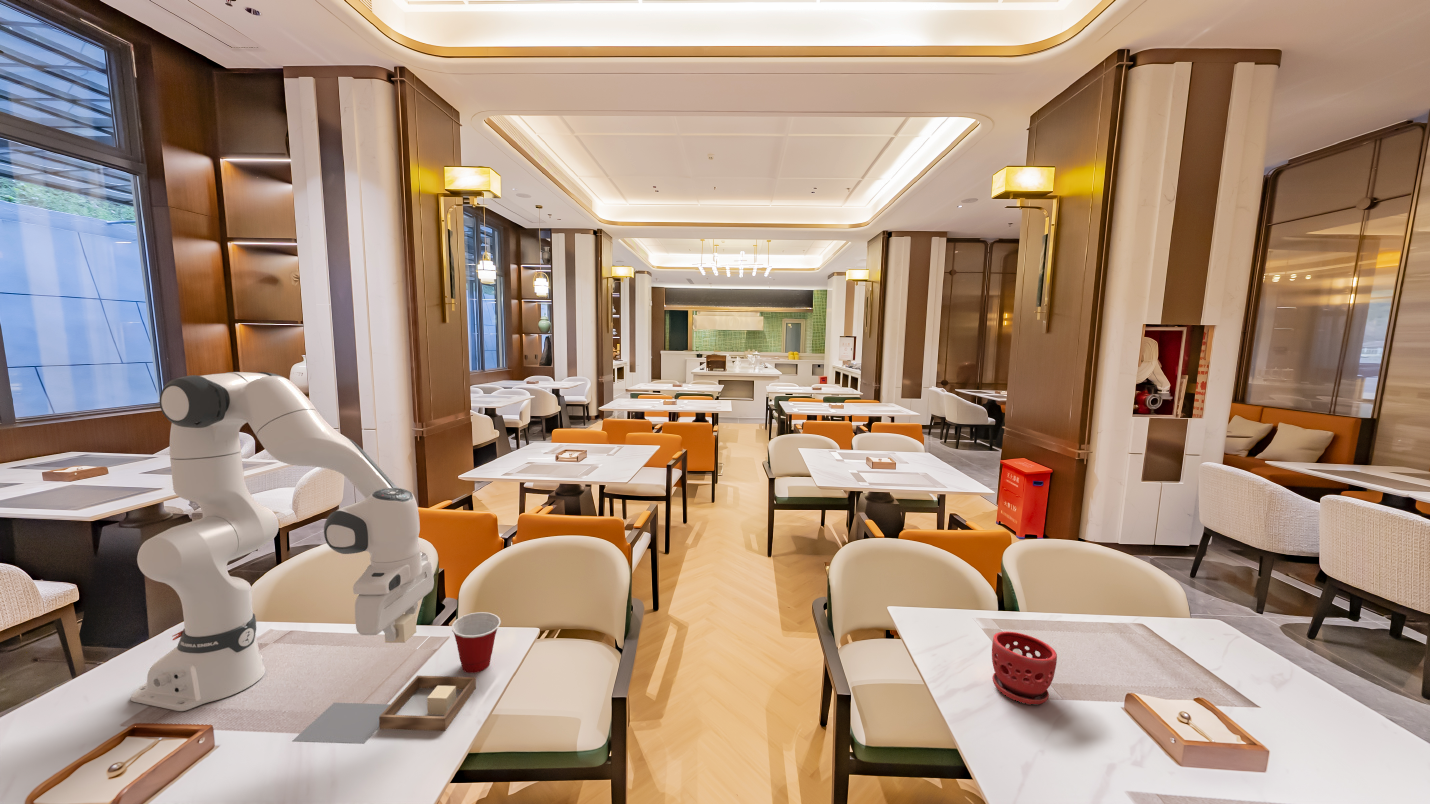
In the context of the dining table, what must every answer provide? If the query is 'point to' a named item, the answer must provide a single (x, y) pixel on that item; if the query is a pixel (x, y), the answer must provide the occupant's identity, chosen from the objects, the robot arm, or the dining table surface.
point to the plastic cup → (475, 639)
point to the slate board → (344, 723)
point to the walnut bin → (427, 722)
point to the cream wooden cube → (404, 628)
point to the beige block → (441, 699)
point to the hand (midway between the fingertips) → (400, 632)
